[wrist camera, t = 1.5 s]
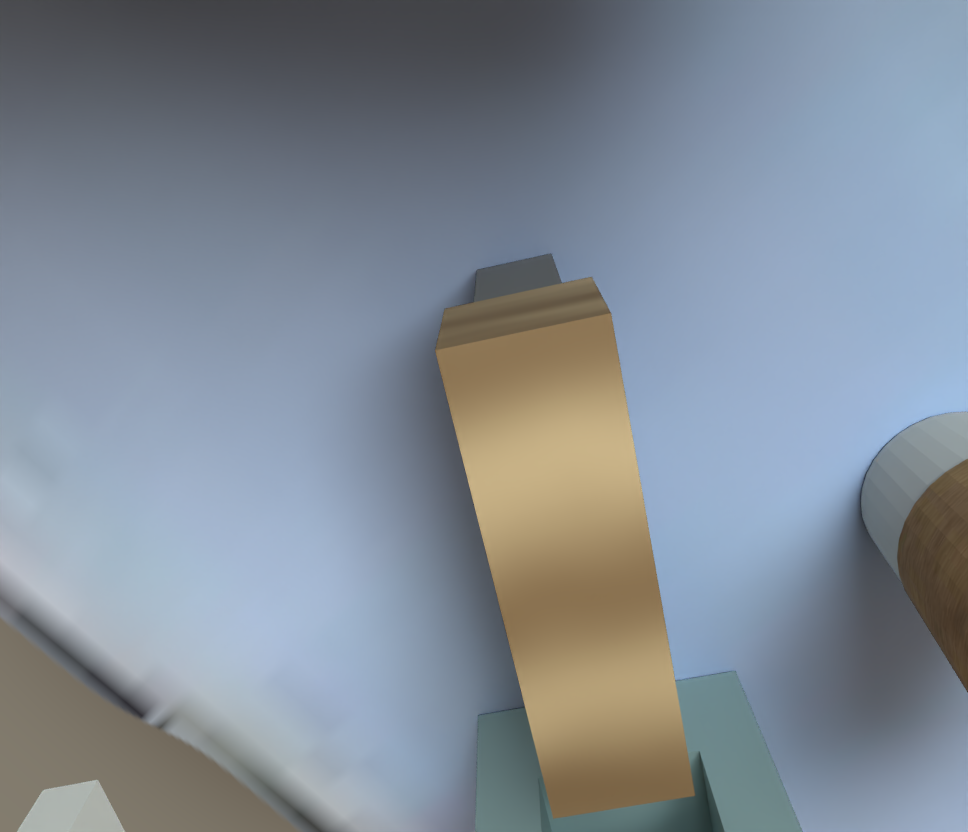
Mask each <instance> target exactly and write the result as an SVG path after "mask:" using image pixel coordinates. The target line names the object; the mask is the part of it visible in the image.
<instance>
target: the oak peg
mask: <svg viewBox="0 0 968 832" xmlns="http://www.w3.org/2000/svg"><path fill="white" fill-rule="evenodd" d="M435 352H436V356H437V360H438V364H439V368H440V372H441V376H442V380H443V384H444V388H445V392H446V396H447V400H448V404H449V408H450V412H451V416H452V420H453V424H454V428H455V431H456V435H457V439H458V443H459V447H460V451H461V455H462V459H463V463H464V467H465V471H466V475H467V479H468V483H469V487H470V491H471V495H472V499H473V503H474V507H475V511H476V515H477V519H478V523H479V526H480V530H481V534H482V538H483V542H484V546H485V550H486V554H487V558H488V562H489V566H490V570H491V574H492V578H493V582H494V586H495V590H496V594H497V598H498V602H499V606H500V610H501V614H502V618H503V621H504V625H505V629H506V633H507V637H508V641H509V645H510V649H511V653H512V657H513V661H514V665H515V669H516V673H517V677H518V681H519V685H520V689H521V693H522V697H523V701H524V705H525V709H526V713H527V716H528V720H529V724H530V728H531V732H532V736H533V740H534V744H535V748H536V752H537V756H538V760H539V764H540V768H541V772H542V776H543V780H544V784H545V788H546V792H547V796H548V800H549V804H550V808H551V811H552V815H553V819H555V818H561V817H567V816H574V815H580V814H586V813H592V812H598V811H604V810H611V809H617V808H623V807H629V806H635V805H642V804H648V803H654V802H660V801H666V800H673V799H679V798H685V797H691V796H695V791H694V786H693V780H692V774H691V769H690V763H689V757H688V751H687V746H686V740H685V734H684V728H683V723H682V717H681V711H680V706H679V700H678V694H677V688H676V683H675V677H674V671H673V665H672V660H671V654H670V648H669V643H668V637H667V631H666V625H665V620H664V614H663V608H662V602H661V597H660V591H659V585H658V580H657V574H656V568H655V562H654V557H653V551H652V545H651V540H650V534H649V528H648V522H647V517H646V511H645V505H644V499H643V494H642V488H641V482H640V477H639V471H638V465H637V459H636V454H635V448H634V442H633V436H632V431H631V425H630V419H629V414H628V408H627V402H626V396H625V391H624V385H623V379H622V374H621V368H620V362H619V356H618V351H617V345H616V339H615V333H614V328H613V322H612V316H611V312H610V310H609V308H608V307H607V305H606V303H605V301H604V299H603V297H602V295H601V293H600V292H599V290H598V288H597V286H596V284H595V282H594V280H593V278H592V277H588V278H584V279H579V280H574V281H570V282H565V283H561V284H556V285H551V286H547V287H542V288H537V289H533V290H528V291H524V292H519V293H514V294H510V295H505V296H501V297H496V298H491V299H487V300H482V301H478V302H473V303H468V304H464V305H459V306H455V307H450V308H445V310H444V314H443V318H442V323H441V327H440V331H439V336H438V340H437V344H436V349H435Z"/></svg>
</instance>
